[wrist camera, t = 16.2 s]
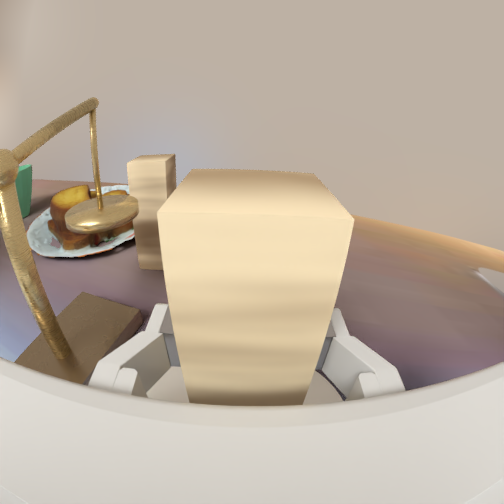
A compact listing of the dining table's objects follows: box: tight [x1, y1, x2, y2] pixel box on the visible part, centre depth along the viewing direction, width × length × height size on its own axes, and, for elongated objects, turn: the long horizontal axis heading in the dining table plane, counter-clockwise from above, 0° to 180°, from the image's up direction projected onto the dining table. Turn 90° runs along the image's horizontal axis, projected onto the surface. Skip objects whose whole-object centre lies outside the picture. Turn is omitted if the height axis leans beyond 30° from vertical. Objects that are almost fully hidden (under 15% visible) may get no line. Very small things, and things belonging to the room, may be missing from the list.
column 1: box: [127, 154, 176, 270], centre depth 29 cm, size 4×4×12 cm
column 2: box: [157, 169, 354, 406], centre depth 10 cm, size 4×4×12 cm
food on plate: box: [26, 185, 135, 258], centre depth 39 cm, size 25×25×7 cm
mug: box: [15, 165, 32, 219], centre depth 42 cm, size 15×10×10 cm
